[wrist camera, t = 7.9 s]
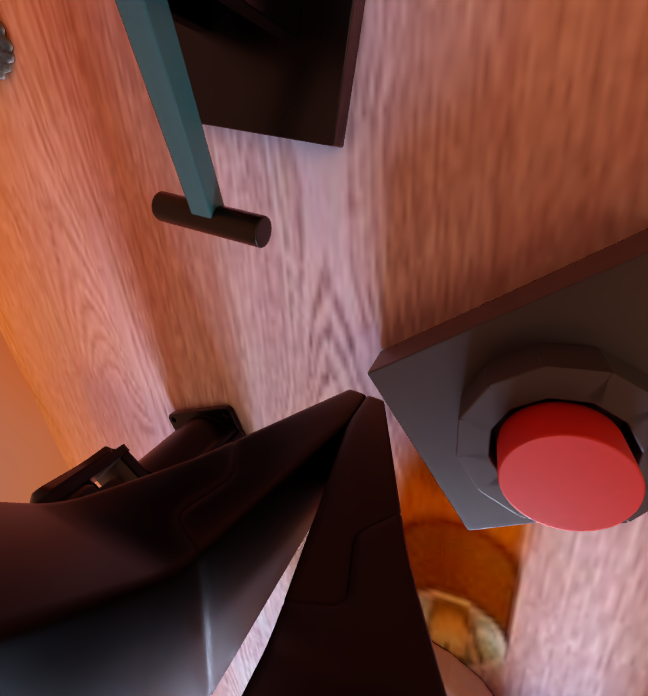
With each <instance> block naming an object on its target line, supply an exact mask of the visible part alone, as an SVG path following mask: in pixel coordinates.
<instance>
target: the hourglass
mask: <svg viewBox="0 0 648 696" xmlns="http://www.w3.org/2000/svg"><path fill="white" fill-rule="evenodd" d="M432 644H433V648H434V651H435V654H436V658H437V661H438V665H439V668H440V672H441V675H442V679H443V682H444V686H445V689H446V692H447V696H493V695H492V693H491V692H490V691H489V689H488V688H487V686H486V685H485V684H484V682H483V681H482V679H480V678H479V677H478V676H477V675H476V674H474V673H473V672H472V671H471V670H470V669H469V668H467V667H466V666H465V665H464V664H463V663H462V662H460V661H459V660H458V659H457V658H456V657H455V656H453V655H452V654H451V653H450V652H448V651H446V650H445V649H443V648H441V647H439V646H438V645H436V644H434V643H432Z"/></svg>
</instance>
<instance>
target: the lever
mask: <svg viewBox="0 0 648 696" xmlns="http://www.w3.org/2000/svg"><path fill="white" fill-rule="evenodd" d="M115 2H116V5H117V7H118V10H119V13H120V16H121V18H122V21H123V24H124V27H125V30H126V32H127V35H128V38H129V41H130V44H131V46H132V49H133V52H134V55H135V57H136V60H137V63H138V66H139V69H140V71H141V74H142V77H143V80H144V83H145V85H146V88H147V91H148V94H149V97H150V99H151V102H152V105H153V108H154V110H155V113H156V116H157V119H158V122H159V124H160V127H161V130H162V133H163V136H164V138H165V141H166V144H167V147H168V149H169V152H170V155H171V158H172V161H173V163H174V166H175V169H176V172H177V175H178V177H179V180H180V183H181V186H182V188H183V191H184V194H185V196H181V195H177V194H173V193H168V192H164V191H161V192H158V193H157V194H156V195H155V196H154V198H153V200H152V211H153V214H154V216H155V217H156V218H157V219H158V220H160V221H163V222H166V223H170V224H174V225H178V226H181V227H185V228H189V229H192V230H196V231H200V232H203V233H207V234H211V235H214V236H218V237H222V238H225V239H229V240H233V241H237V242H240V243H244V244H248V245H251V246H255V247H259V248H262V247H265V246H266V245H267V243H268V242H269V239H270V236H271V230H272V226H271V221H270V219H269V218H268V217H267V216H264V215H259V214H255V213H251V212H247V211H243V210H239V209H235V208H230V207H226V206H224V204H223V200H222V196H221V193H220V189H219V185H218V182H217V178H216V174H215V171H214V167H213V163H212V160H211V156H210V152H209V149H208V145H207V142H206V138H205V134H204V131H203V127H202V123H201V120H200V116H199V112H198V109H197V105H196V101H195V98H194V94H193V90H192V87H191V83H190V79H189V76H188V72H187V69H186V65H185V61H184V58H183V54H182V50H181V47H180V43H179V39H178V36H177V32H176V28H175V25H174V21H173V17H172V14H171V10H170V6H169V3H168V0H115Z"/></svg>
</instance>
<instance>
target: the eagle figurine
mask: <svg viewBox="0 0 648 696" xmlns="http://www.w3.org/2000/svg"><path fill="white" fill-rule="evenodd" d="M12 50H13V45H12V43H11V41H10V40H9V39H8V38H7V37H6V36H5V29H4V27H3V25H2V24H1V23H0V79H2V80H4V79H5V73H9V72H11V66H10V63H13V62H14V59H15V57H14V55H13V53H12Z"/></svg>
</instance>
